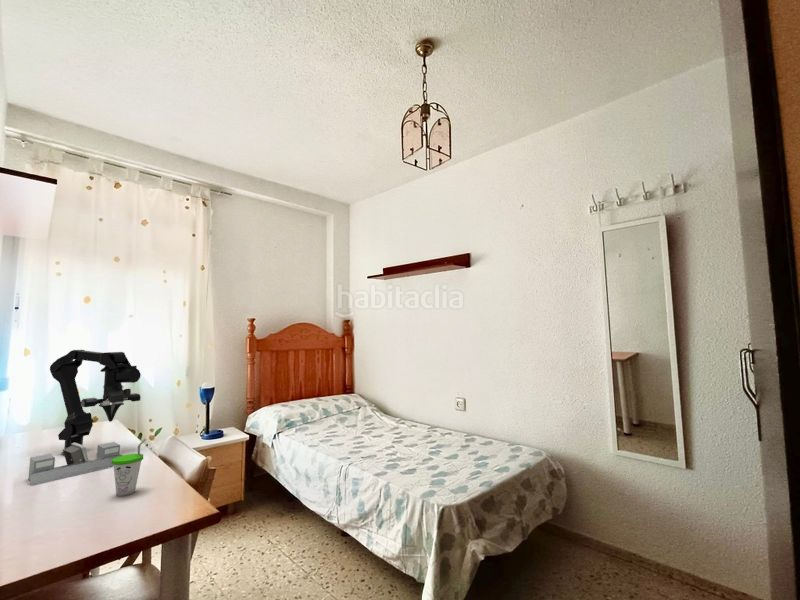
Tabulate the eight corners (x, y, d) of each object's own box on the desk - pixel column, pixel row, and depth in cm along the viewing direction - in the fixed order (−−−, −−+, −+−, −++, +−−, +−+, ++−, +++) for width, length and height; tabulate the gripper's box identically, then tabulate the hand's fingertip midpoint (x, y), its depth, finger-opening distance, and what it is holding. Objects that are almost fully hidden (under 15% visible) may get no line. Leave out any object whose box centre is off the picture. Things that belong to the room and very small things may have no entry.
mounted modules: (28, 479, 123) (30, 457, 124) (112, 460, 141) (113, 441, 142) (32, 484, 119) (34, 461, 120) (119, 464, 137) (120, 444, 138)
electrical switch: (91, 470, 131) (90, 443, 131) (72, 476, 127) (71, 449, 127) (80, 466, 136) (79, 440, 136) (62, 471, 132) (61, 445, 132)
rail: (29, 483, 119) (30, 472, 119) (119, 463, 138) (120, 453, 138) (31, 485, 118) (31, 474, 118) (121, 464, 136) (122, 454, 137)
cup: (103, 500, 105) (107, 446, 107) (116, 489, 113) (119, 439, 115) (135, 496, 107) (138, 443, 109) (146, 486, 115) (148, 437, 117)
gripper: (89, 386, 140) (86, 428, 139) (146, 381, 155) (144, 419, 153) (81, 384, 147) (78, 424, 145) (136, 380, 162) (134, 416, 160)
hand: (110, 421), depth 151 cm, fingers closed
